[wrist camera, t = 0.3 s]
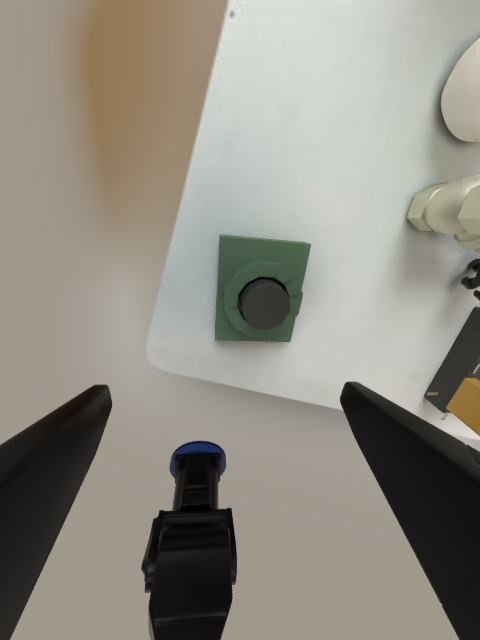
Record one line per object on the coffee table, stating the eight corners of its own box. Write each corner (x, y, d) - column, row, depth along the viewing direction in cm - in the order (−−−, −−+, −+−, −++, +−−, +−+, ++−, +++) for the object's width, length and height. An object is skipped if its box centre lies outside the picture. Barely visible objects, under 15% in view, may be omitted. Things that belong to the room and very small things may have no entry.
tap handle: (454, 407, 29) (495, 440, 25) (445, 407, 29) (485, 441, 25) (474, 377, 27) (523, 407, 23) (464, 377, 27) (512, 407, 23)
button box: (285, 334, 25) (295, 351, 22) (215, 332, 24) (215, 349, 21) (304, 242, 21) (320, 246, 18) (219, 234, 20) (220, 238, 17)
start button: (280, 321, 21) (285, 330, 19) (238, 320, 20) (240, 328, 19) (288, 280, 19) (294, 286, 18) (242, 277, 19) (245, 283, 17)
